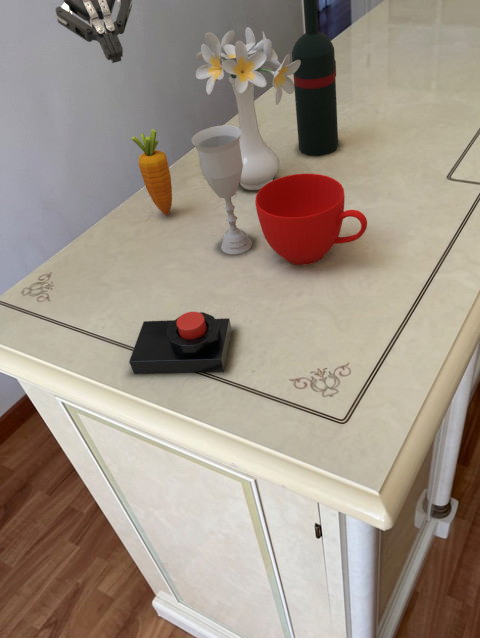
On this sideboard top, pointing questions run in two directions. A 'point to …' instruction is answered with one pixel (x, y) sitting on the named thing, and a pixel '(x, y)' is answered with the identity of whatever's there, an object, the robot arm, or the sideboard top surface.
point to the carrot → (155, 172)
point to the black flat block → (181, 348)
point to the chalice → (223, 176)
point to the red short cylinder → (191, 325)
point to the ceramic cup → (304, 216)
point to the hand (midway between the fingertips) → (116, 59)
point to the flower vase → (248, 94)
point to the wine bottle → (315, 88)
